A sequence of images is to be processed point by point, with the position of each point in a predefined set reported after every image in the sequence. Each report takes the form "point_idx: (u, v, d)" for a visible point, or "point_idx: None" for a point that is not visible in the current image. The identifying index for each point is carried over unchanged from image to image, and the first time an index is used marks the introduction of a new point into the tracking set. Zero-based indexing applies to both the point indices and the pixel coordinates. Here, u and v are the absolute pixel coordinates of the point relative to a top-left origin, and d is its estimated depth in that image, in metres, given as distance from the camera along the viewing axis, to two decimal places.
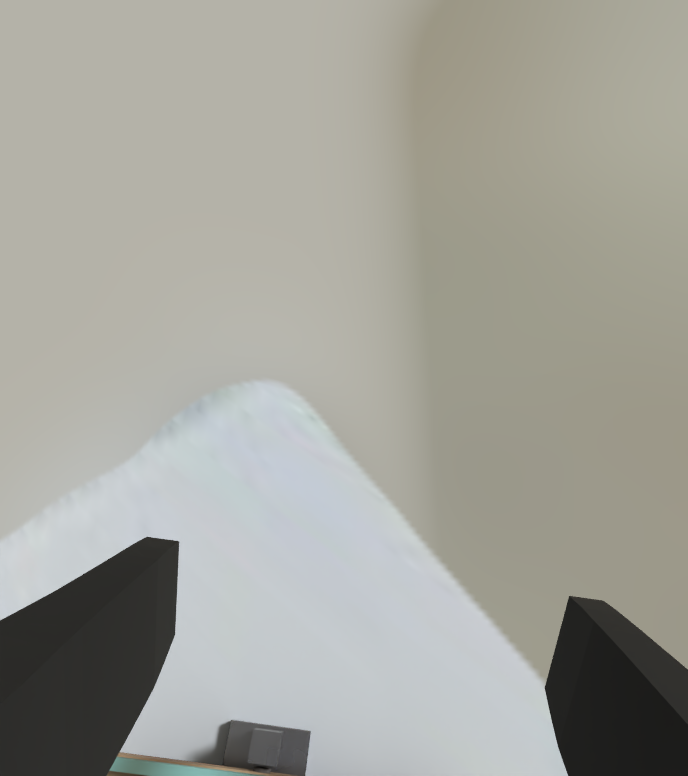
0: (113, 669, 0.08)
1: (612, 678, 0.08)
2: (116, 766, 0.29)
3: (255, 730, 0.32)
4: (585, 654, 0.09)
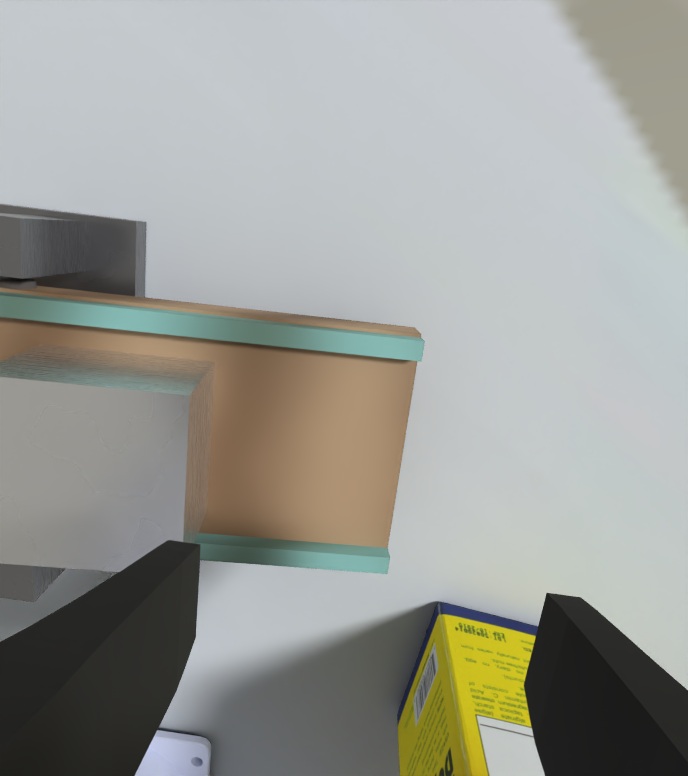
0: (140, 673, 0.08)
1: (585, 674, 0.08)
2: None
3: None
4: (560, 650, 0.09)
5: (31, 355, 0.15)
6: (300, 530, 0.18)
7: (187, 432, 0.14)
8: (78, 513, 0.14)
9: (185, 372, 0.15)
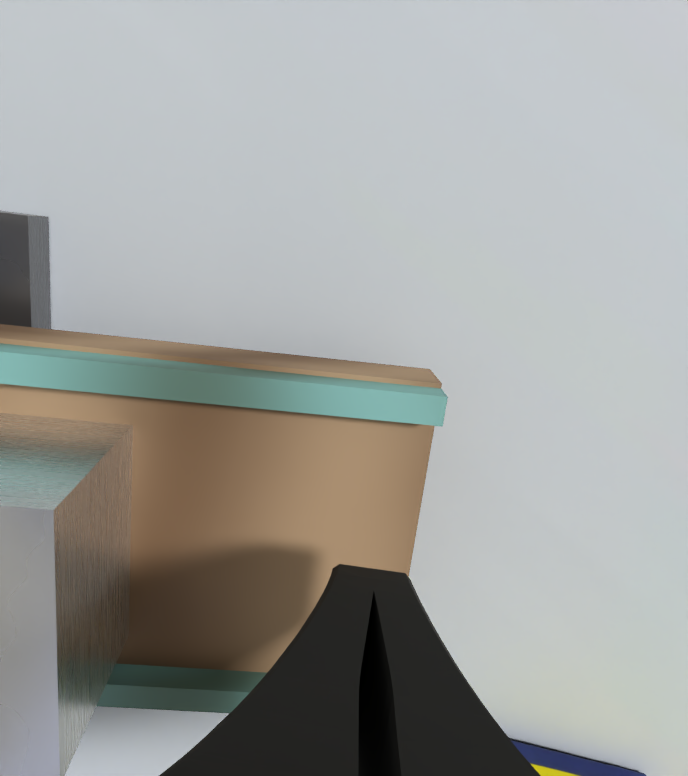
0: None
1: (374, 644, 0.08)
2: None
3: None
4: (369, 623, 0.09)
5: None
6: (265, 657, 0.13)
7: (54, 569, 0.08)
8: None
9: (73, 451, 0.10)
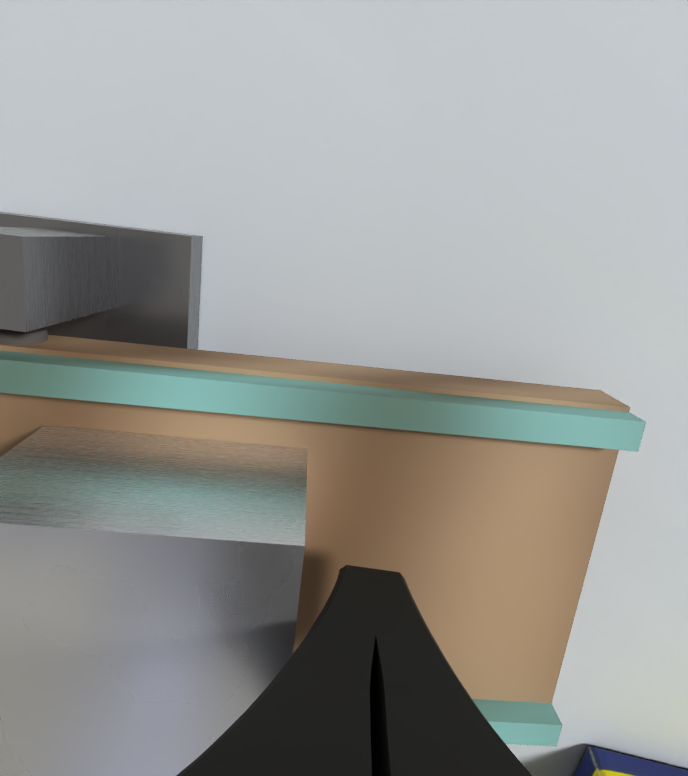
0: None
1: None
2: None
3: None
4: None
5: (27, 454, 0.09)
6: None
7: (297, 605, 0.08)
8: (107, 732, 0.08)
9: (275, 479, 0.09)
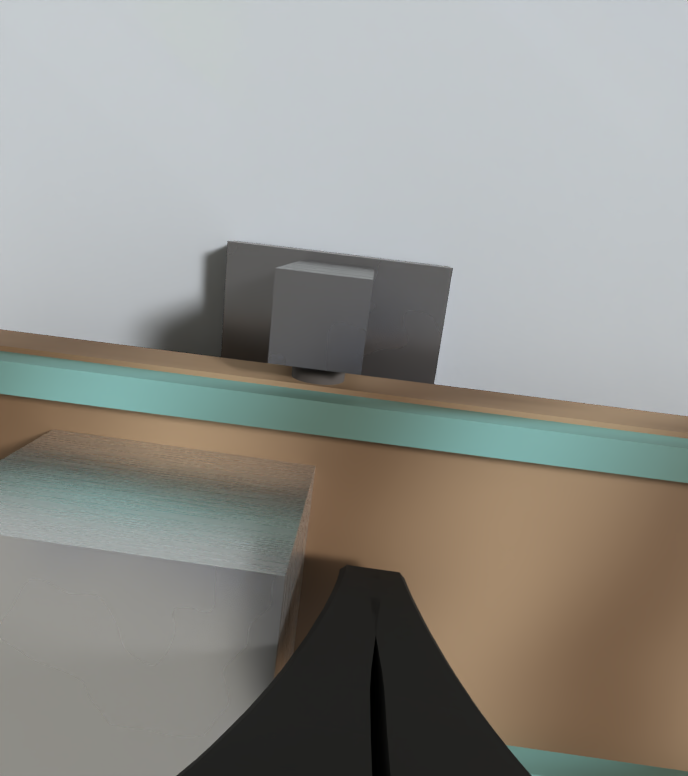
0: None
1: None
2: None
3: (283, 272, 0.09)
4: None
5: (26, 459, 0.09)
6: None
7: (277, 639, 0.07)
8: (81, 755, 0.08)
9: (271, 498, 0.09)
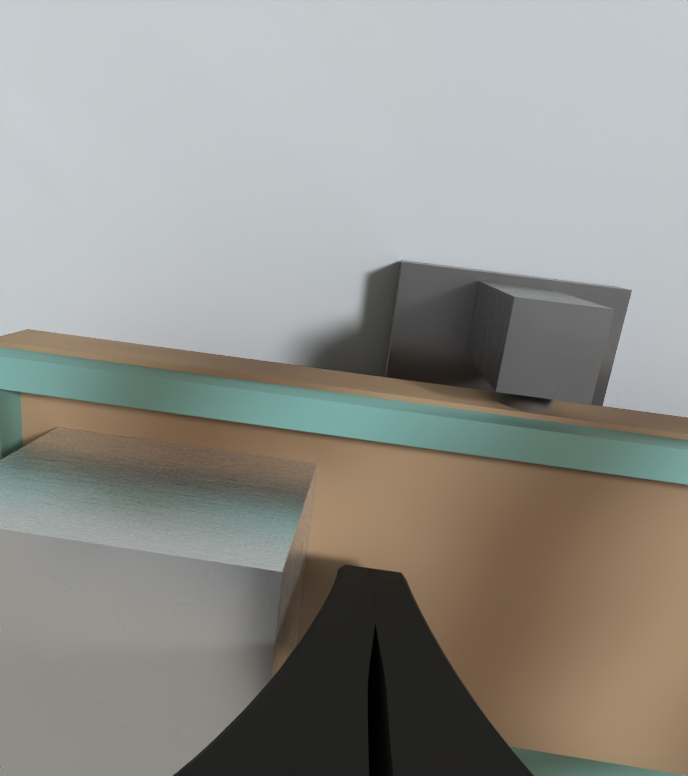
0: None
1: None
2: (90, 389, 0.10)
3: (522, 301, 0.09)
4: None
5: (31, 456, 0.09)
6: None
7: (274, 634, 0.07)
8: (83, 747, 0.08)
9: (272, 495, 0.09)
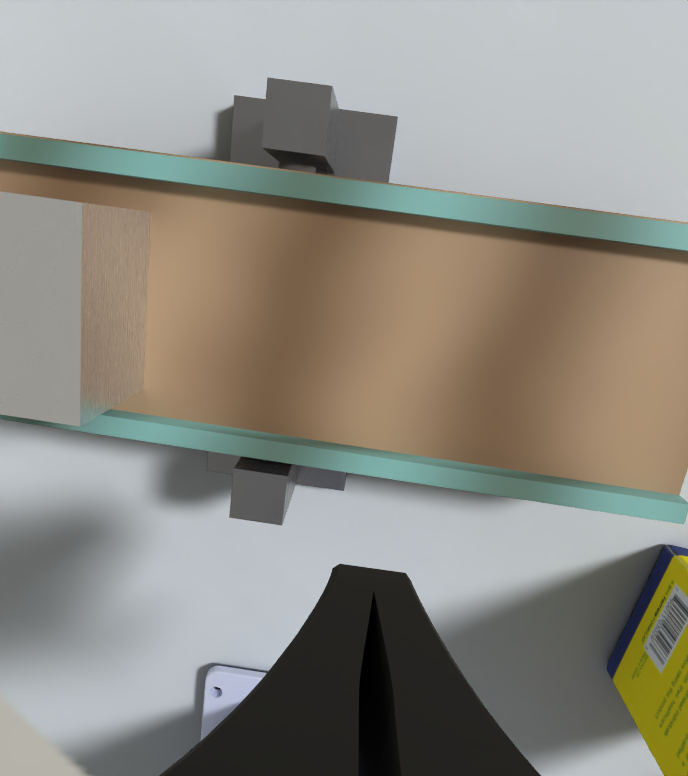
0: None
1: (374, 644, 0.08)
2: None
3: (273, 80, 0.14)
4: (369, 623, 0.09)
5: None
6: (577, 465, 0.16)
7: (81, 248, 0.12)
8: None
9: None
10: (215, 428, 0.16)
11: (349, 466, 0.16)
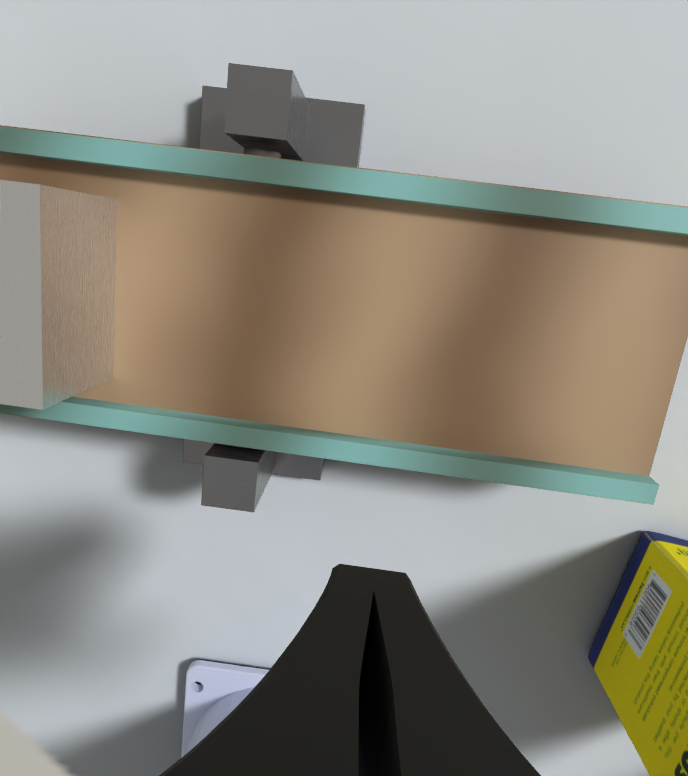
0: None
1: (374, 644, 0.08)
2: None
3: (234, 66, 0.14)
4: (369, 623, 0.09)
5: None
6: (547, 448, 0.16)
7: (39, 230, 0.12)
8: None
9: None
10: (185, 415, 0.16)
11: (319, 451, 0.16)
